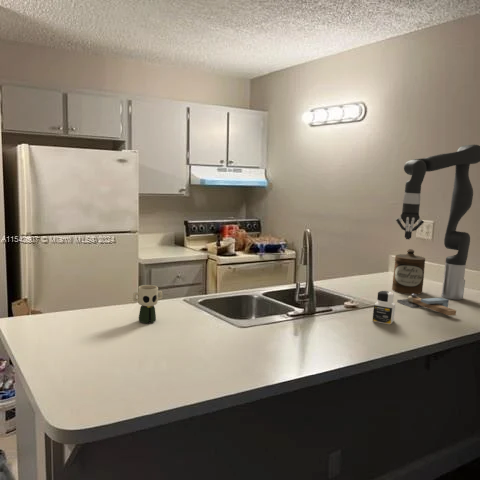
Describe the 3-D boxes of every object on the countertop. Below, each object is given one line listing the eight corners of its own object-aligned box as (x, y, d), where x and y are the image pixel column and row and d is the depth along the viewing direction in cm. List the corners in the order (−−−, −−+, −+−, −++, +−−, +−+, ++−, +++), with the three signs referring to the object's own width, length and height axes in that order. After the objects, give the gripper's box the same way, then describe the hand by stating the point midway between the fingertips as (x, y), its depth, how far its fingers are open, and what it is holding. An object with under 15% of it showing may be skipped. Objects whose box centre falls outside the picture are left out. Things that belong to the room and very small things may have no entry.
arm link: (405, 300, 218) (405, 296, 218) (413, 299, 220) (414, 295, 220) (447, 315, 196) (448, 311, 196) (456, 314, 198) (457, 310, 198)
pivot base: (413, 300, 224) (414, 290, 223) (429, 306, 215) (430, 296, 214) (397, 301, 220) (398, 291, 219) (412, 307, 211) (413, 297, 210)
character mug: (135, 326, 166) (136, 290, 165) (129, 320, 172) (130, 285, 171) (164, 322, 172) (165, 288, 170) (158, 317, 178) (159, 283, 176)
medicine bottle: (372, 321, 187) (374, 292, 186) (375, 317, 193) (378, 288, 192) (390, 324, 184) (393, 295, 182) (393, 320, 190) (396, 291, 189)
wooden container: (392, 292, 239) (396, 249, 236) (391, 286, 253) (395, 246, 250) (423, 296, 234) (427, 252, 231) (420, 289, 249) (425, 248, 246)
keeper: (440, 308, 212) (441, 297, 211) (447, 311, 208) (448, 299, 208) (419, 310, 207) (421, 298, 207) (426, 312, 204) (427, 301, 203)
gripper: (397, 202, 219) (394, 239, 221) (427, 204, 216) (423, 241, 218) (395, 201, 226) (392, 237, 228) (424, 203, 223) (421, 239, 226)
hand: (407, 239), depth 223 cm, fingers closed
